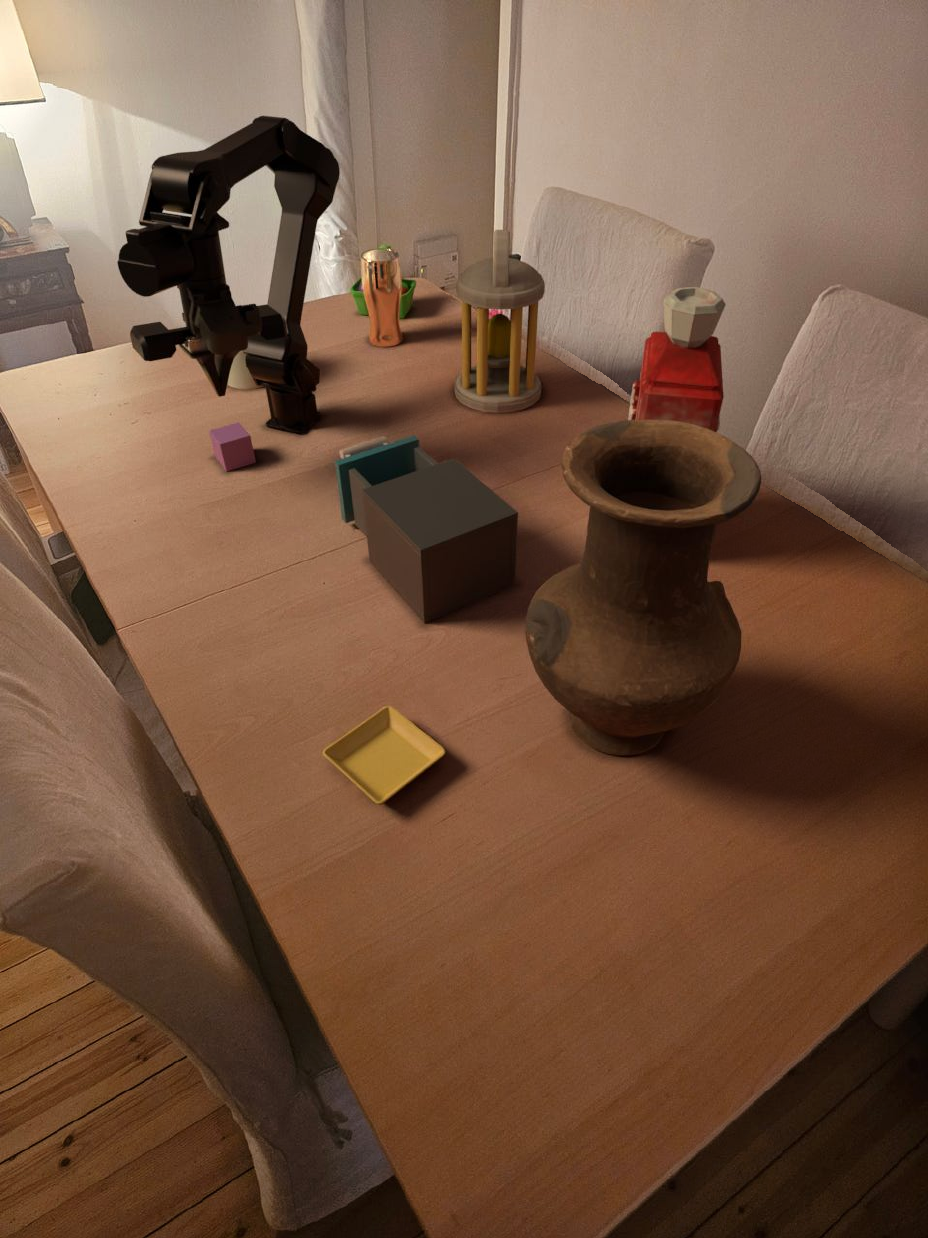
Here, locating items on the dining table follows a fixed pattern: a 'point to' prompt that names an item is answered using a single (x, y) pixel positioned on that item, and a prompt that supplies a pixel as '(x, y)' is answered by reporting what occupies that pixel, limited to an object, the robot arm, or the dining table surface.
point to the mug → (241, 374)
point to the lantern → (499, 331)
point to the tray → (374, 471)
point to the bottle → (683, 363)
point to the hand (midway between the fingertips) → (220, 395)
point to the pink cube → (232, 446)
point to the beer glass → (382, 295)
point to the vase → (642, 583)
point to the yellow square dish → (384, 754)
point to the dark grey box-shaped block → (440, 538)
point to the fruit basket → (406, 295)
